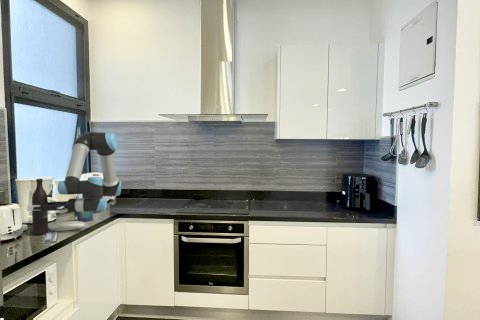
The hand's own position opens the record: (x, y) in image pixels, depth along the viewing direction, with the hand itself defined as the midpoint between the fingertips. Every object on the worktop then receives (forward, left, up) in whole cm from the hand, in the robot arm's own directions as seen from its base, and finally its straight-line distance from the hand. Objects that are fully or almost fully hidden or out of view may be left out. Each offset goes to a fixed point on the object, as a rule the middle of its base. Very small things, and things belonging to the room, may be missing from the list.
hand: (30, 206), depth 165 cm
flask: (-24, +21, -15) cm, 35 cm away
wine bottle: (0, +5, -15) cm, 16 cm away
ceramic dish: (-12, +14, -15) cm, 24 cm away
